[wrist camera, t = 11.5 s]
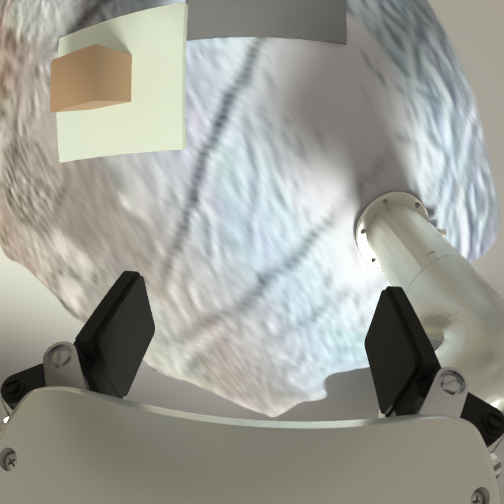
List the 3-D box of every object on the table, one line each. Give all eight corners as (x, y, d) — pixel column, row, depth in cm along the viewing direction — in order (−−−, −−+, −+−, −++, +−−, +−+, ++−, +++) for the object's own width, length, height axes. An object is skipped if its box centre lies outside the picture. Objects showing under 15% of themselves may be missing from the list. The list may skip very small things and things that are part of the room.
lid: (188, 5, 18) (161, -25, 11) (186, 148, 24) (155, 159, 17) (65, 39, 19) (21, 31, 12) (65, 160, 25) (20, 176, 18)
